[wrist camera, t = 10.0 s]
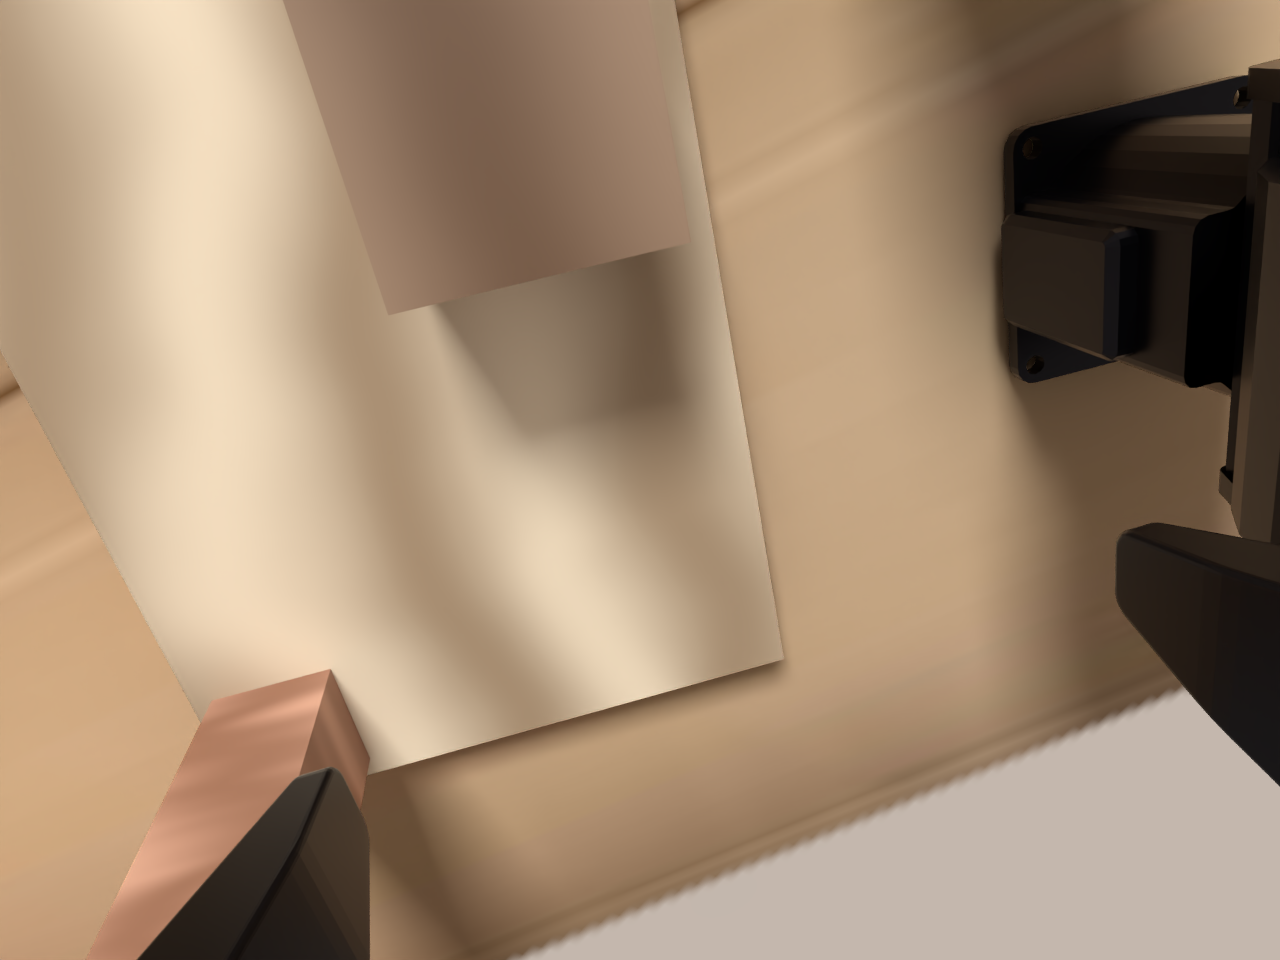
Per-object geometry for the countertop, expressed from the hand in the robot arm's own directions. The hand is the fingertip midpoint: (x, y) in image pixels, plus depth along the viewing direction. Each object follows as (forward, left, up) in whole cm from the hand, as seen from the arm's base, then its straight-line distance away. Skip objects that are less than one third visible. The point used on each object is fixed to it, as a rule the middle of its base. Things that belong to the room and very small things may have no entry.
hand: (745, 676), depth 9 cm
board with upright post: (+4, 0, -13) cm, 14 cm away
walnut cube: (+1, -6, -11) cm, 13 cm away
